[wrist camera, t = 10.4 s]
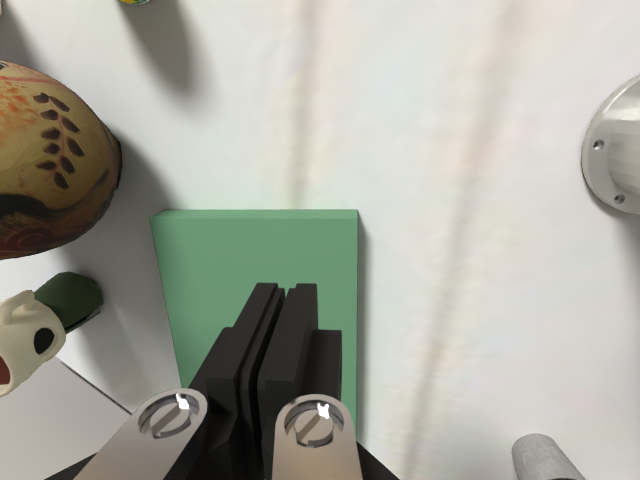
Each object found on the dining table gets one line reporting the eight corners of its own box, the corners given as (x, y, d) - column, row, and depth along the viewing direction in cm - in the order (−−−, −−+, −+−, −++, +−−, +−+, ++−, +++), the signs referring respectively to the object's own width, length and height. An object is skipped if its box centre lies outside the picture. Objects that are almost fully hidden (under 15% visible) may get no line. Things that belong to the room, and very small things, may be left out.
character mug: (98, 340, 46) (5, 426, 34) (42, 315, 45) (-73, 394, 33) (120, 268, 42) (25, 336, 30) (60, 240, 42) (-62, 298, 29)
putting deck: (164, 209, 39) (149, 218, 36) (357, 209, 37) (357, 218, 34) (202, 430, 49) (193, 450, 47) (355, 438, 48) (355, 459, 45)
